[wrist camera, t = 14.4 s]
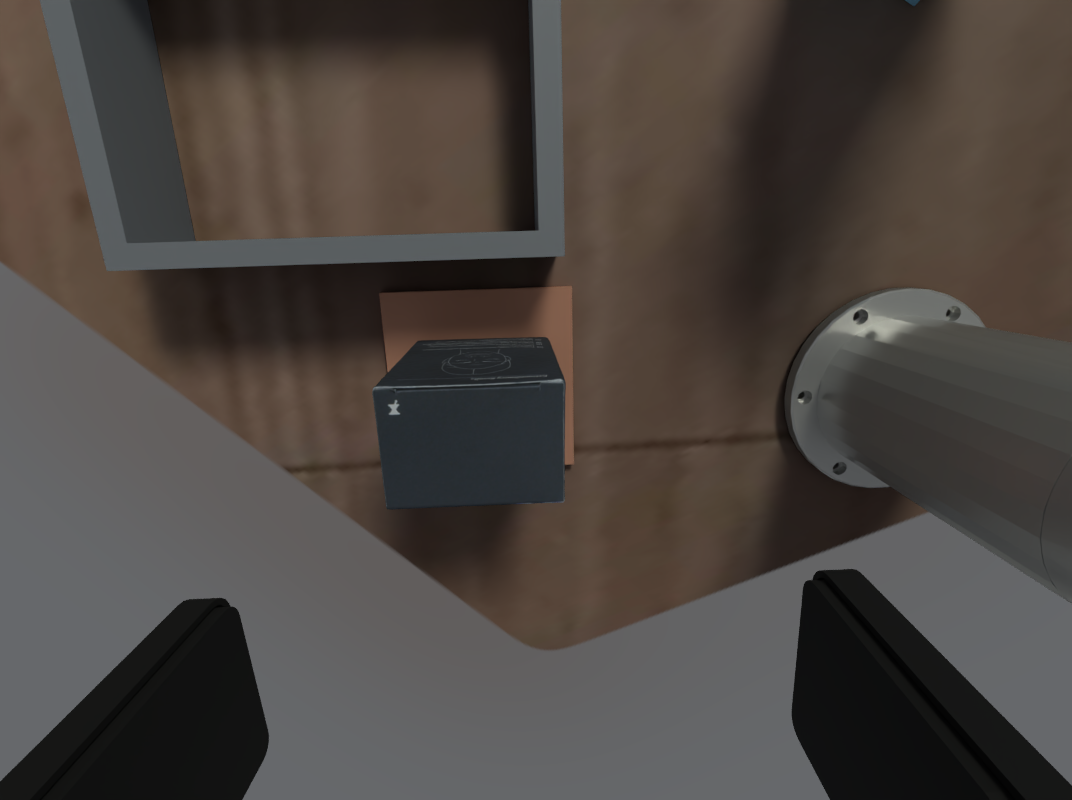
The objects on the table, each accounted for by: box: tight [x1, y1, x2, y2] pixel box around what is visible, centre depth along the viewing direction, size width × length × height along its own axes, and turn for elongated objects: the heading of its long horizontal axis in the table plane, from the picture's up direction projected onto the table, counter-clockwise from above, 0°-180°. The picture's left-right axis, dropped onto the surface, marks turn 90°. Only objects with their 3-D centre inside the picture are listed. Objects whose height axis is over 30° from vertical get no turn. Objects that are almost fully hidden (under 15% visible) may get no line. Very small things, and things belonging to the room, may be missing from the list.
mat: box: [379, 286, 574, 465], centre depth 32 cm, size 11×11×1 cm
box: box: [372, 337, 566, 509], centre depth 27 cm, size 8×6×11 cm
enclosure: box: [40, 0, 565, 271], centre depth 25 cm, size 21×16×6 cm
